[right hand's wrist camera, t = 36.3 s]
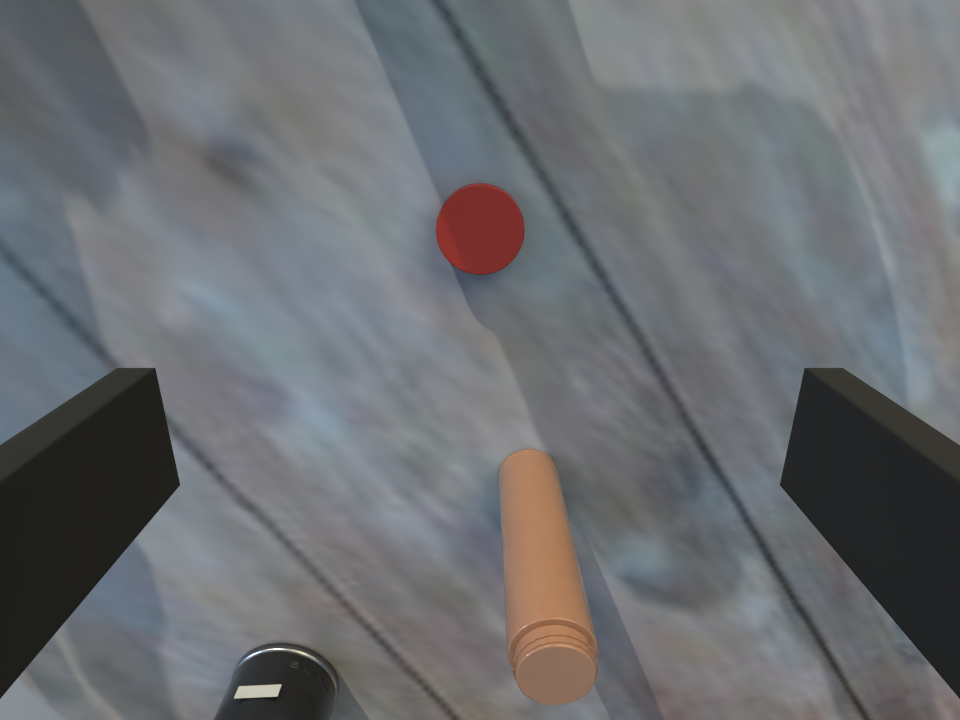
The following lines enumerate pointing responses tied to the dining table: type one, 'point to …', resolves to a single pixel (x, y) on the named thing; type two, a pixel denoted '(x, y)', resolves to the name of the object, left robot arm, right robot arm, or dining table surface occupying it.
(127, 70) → the dining table surface
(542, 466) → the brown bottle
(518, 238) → the lid
